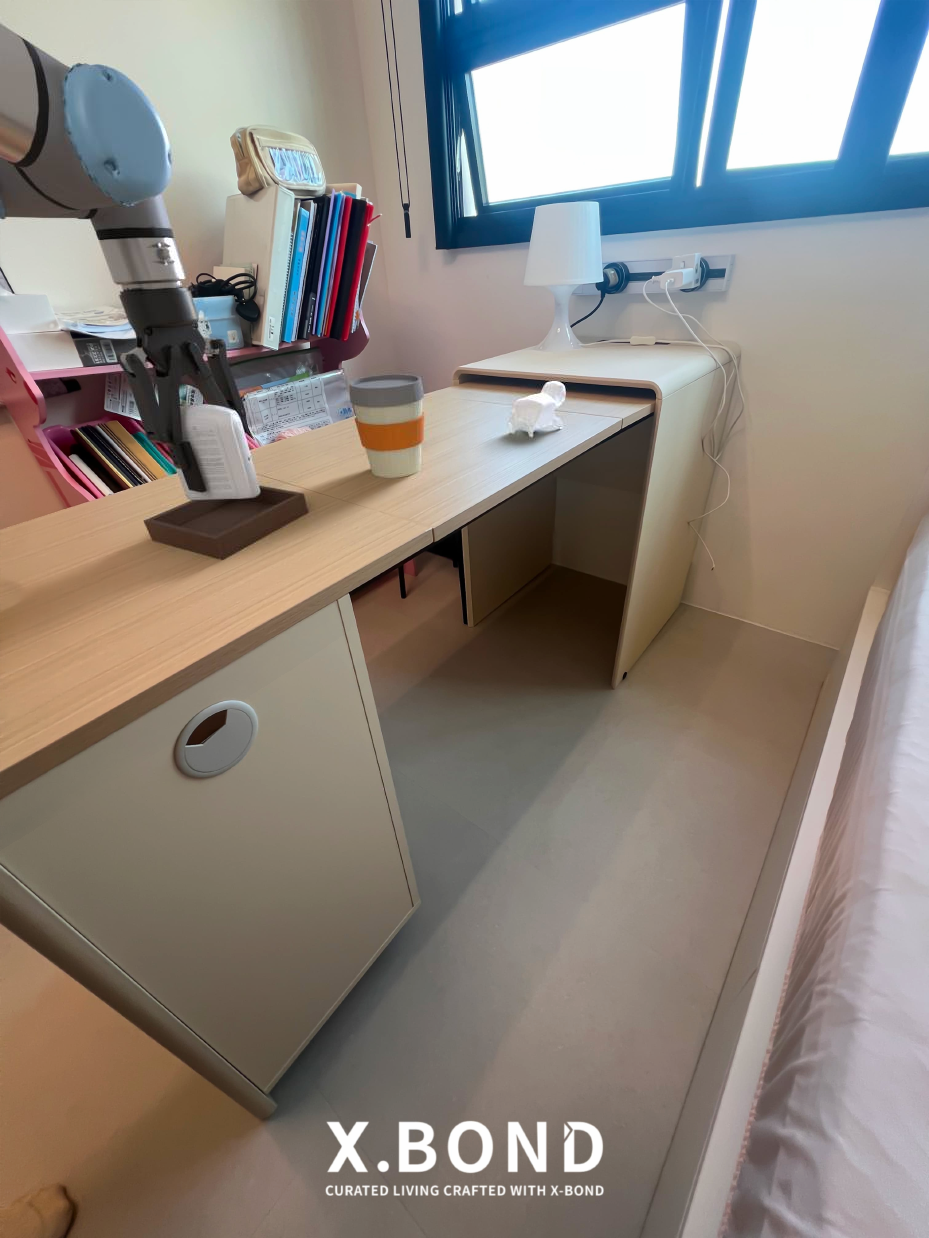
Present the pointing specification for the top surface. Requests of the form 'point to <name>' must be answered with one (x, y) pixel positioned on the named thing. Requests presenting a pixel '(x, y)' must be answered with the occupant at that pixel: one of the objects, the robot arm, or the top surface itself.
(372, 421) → the reusable coffee cup
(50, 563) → the top surface
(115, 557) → the top surface
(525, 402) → the white animal figurine
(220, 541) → the tray
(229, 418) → the photo printer
